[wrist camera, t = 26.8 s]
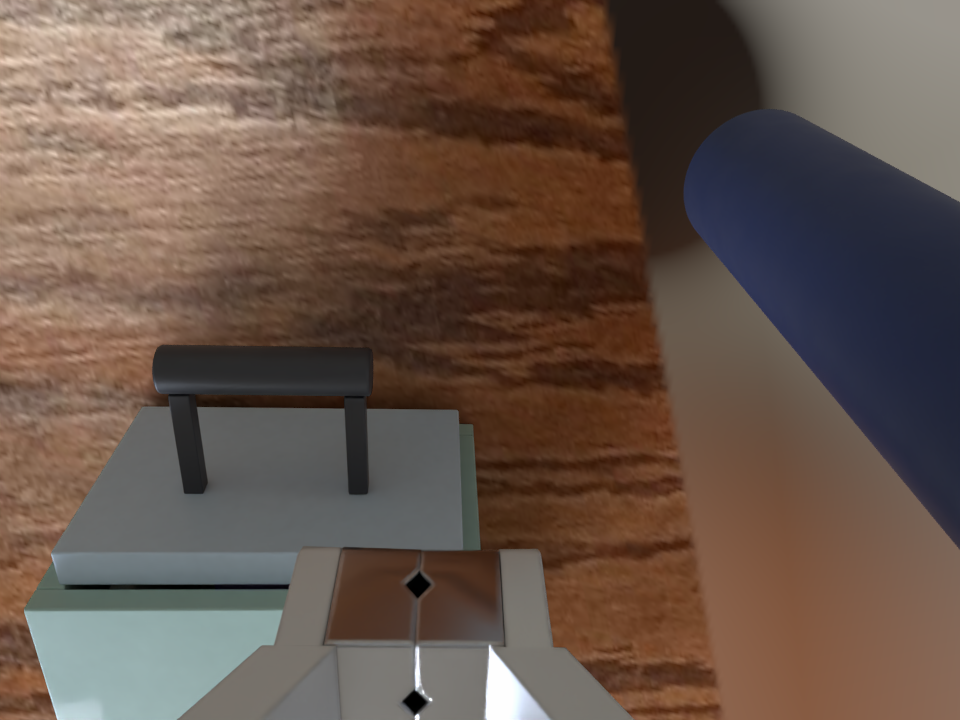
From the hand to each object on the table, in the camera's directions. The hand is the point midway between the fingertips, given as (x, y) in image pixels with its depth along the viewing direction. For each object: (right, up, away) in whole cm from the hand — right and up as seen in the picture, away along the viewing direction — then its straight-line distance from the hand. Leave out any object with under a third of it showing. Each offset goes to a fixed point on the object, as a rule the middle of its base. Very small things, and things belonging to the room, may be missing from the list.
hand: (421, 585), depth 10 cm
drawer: (-6, -3, +21) cm, 22 cm away
